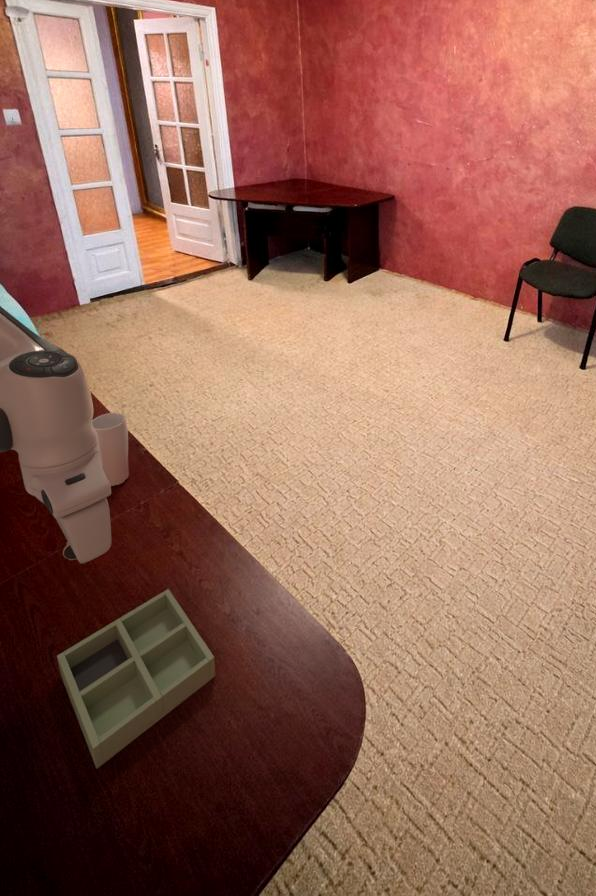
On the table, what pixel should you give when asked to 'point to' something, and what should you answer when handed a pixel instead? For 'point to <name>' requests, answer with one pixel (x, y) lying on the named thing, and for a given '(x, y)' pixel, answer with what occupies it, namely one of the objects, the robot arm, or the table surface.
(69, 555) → the wristwatch
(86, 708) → the tray
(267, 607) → the table surface
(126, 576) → the table surface
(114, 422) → the drinking glass
